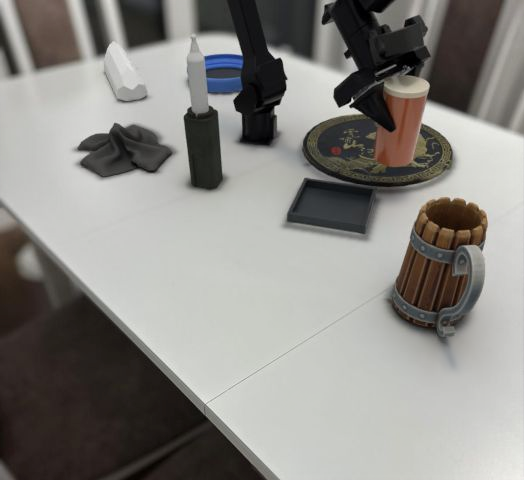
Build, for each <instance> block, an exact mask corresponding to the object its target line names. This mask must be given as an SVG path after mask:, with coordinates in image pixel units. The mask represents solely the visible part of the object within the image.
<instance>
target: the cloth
mask: <svg viewBox="0 0 524 480" xmlns="http://www.w3.org/2000/svg"><path fill="white" fill-rule="evenodd" d="M77 150H79V151H81V150H88V151H92V152H90V153H89V154H87V155H85V156H84V157H83V158H82V159H81V160H80V161H79V164H81V165H83V166H86V167H87V168H89V169H90V170H92V171H94V172H96V173H97V174H98V175H100V176H101V177H109V176H114V175H120V174H124V173H128V172H131V171H133V170H135V169H138V168H142V169H144V170H146V171H149V172H150V171H156V170H157V168H158V167H159V166H160V165H161V164H162V163H163V161H164V160H166V158H167V157H168V156H169V155H171V154H172V153H173V150H172V149H171V148H170V147H168V146H167V145H164V144H161V143H159V141H158V135H157V134H156V133H154V132H153V131H151V130H149V129H147V128H144V127H142V126H138V125H137V124H131V125H129V126H127V127H124V126H123V125H121V124H120V123H118V122H114V123H113V125H112V126H111V128H110V129H109V131H108V132H105V133H104V132H99V133H94V134H91V135H89V136H87V137H86V138H85V139H83V140H81V141H80V143H79V145H78V146H77Z"/></svg>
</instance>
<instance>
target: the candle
mask: <svg viewBox="0 0 524 480" xmlns="http://www.w3.org/2000/svg"><path fill="white" fill-rule="evenodd" d="M190 39H191V41H190V48H189V52H188V53H187V56H186V70H187V69H188V74H187V79H188V87H189V96H190V105H191V106H189V107H188V108H187V109H186V113H185V114H184V115H183V125H184V133H185V143H186V150H187V158H188V166H189V176H190V183H191V186H192V187H195V188H197V187H198V188H203V189H207V190H214V189H217V188H218V186H219V185H220V184H221V182H222V181H223V179H224V178H223V176H224V175H223V163H222V151H221V150H222V149H221V137H220V135H221V133H220V121H219V111H218V110H217V109H215V108H214V107H213V106H212V105H210V103H209V94H208V92H209V91H207V80H206V68H205V58H204V56H205V55H204V54H203V53H202V52H201V50H200V48H199V44H198V42H197V35H196V34H195V33H192V34H191V36H190Z"/></svg>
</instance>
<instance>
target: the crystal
mask: <svg viewBox="0 0 524 480" xmlns="http://www.w3.org/2000/svg"><path fill="white" fill-rule="evenodd" d="M103 70H104V71H103V72H104V73H105V75H106V77H107V79H108V82H109V85H110V86H111V89H112V91H113V93H114V95H115V97H116V99H117V100H122V101H125V102H132V101H138V100H139V101H140V100H142V99H143V98H145V97H146V96H147V95H148V94H149V92H148V90H147V85H146V84H145V83H144V81H143V79H142V77H141V76H140V74H139V72H138V70H137V69H136V67H135V64H134V63H133V62H132V59H131V58H130V56H129V55H128V53H127V52H126V51H125V50H124V48H123V47H122V46H121V45H119V44H118V43H117V42H115V41H112V42H110V43H109V45H108V47H107V49H106V51H105V55H104V59H103Z"/></svg>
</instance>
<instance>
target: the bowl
mask: <svg viewBox="0 0 524 480" xmlns="http://www.w3.org/2000/svg"><path fill="white" fill-rule="evenodd" d="M203 56H204V58H205V68H206V80H207V92H209V93H233V92H238V91H242V83H241V78H240V77H241V71H242V65H243V56H242V54H236V53H215V54H214V53H213V54H207V55H203ZM186 74H187V75H188V69H187V68H186Z"/></svg>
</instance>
